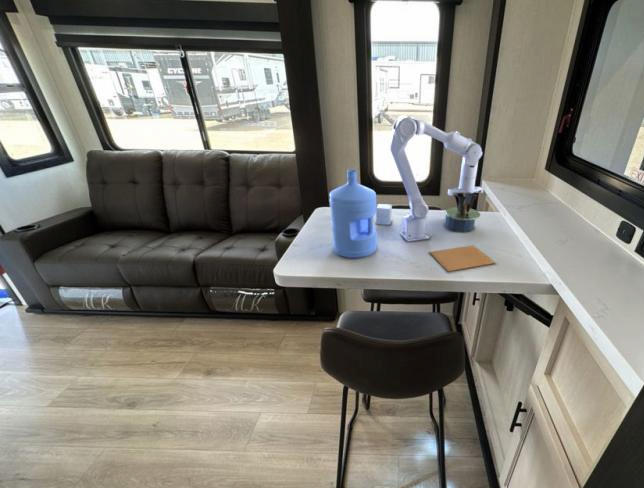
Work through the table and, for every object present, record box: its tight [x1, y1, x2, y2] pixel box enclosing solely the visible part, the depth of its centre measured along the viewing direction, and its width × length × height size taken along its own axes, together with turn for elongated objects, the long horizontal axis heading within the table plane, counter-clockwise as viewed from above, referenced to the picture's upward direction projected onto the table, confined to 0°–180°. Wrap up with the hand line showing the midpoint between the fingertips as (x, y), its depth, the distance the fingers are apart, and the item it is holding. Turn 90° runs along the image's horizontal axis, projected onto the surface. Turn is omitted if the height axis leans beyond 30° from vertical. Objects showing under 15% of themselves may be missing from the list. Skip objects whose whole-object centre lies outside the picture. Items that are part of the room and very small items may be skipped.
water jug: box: [329, 169, 378, 259], centre depth 105 cm, size 16×16×28 cm
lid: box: [445, 202, 481, 220], centre depth 120 cm, size 13×13×5 cm
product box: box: [375, 203, 393, 226], centre depth 133 cm, size 6×6×7 cm
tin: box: [444, 213, 476, 233], centre depth 132 cm, size 12×12×6 cm
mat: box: [429, 245, 495, 273], centre depth 108 cm, size 18×14×1 cm
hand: (463, 211), depth 120 cm, fingers closed on lid, 2 cm apart
